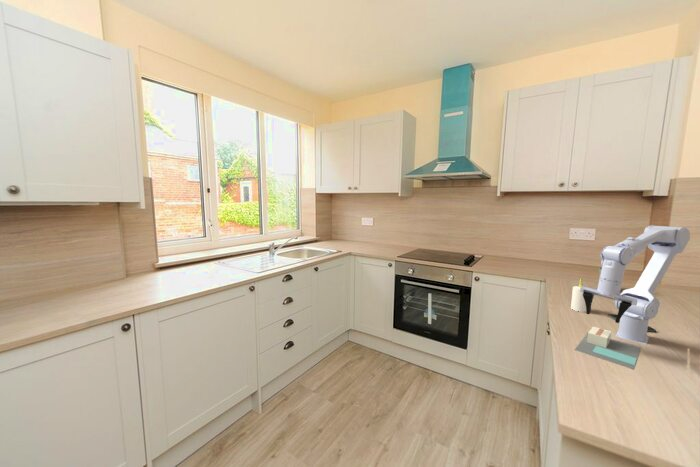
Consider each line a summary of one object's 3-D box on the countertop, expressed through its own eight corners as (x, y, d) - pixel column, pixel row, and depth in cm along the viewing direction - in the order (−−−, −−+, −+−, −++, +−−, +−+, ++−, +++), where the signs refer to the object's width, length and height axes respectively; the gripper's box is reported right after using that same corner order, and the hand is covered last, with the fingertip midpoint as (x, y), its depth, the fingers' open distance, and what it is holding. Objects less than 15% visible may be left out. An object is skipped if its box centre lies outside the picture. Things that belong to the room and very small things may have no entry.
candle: (592, 312, 126) (595, 280, 124) (580, 312, 125) (583, 281, 123) (578, 306, 132) (582, 276, 130) (567, 307, 131) (570, 277, 129)
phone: (634, 329, 107) (606, 313, 122) (634, 331, 107) (606, 316, 122) (658, 330, 106) (627, 315, 120) (657, 333, 106) (626, 317, 120)
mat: (587, 333, 104) (588, 332, 104) (640, 349, 94) (641, 347, 94) (574, 351, 92) (574, 349, 92) (633, 371, 81) (633, 369, 81)
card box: (592, 335, 102) (593, 326, 102) (610, 340, 98) (611, 331, 98) (587, 342, 97) (588, 332, 97) (606, 347, 93) (607, 337, 93)
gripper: (581, 275, 98) (573, 311, 99) (639, 287, 87) (629, 328, 88) (585, 274, 102) (577, 309, 103) (641, 286, 91) (632, 325, 92)
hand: (602, 317), depth 96 cm, fingers open, 7 cm apart
